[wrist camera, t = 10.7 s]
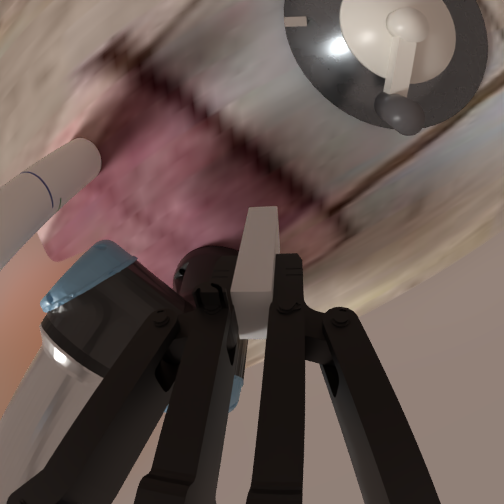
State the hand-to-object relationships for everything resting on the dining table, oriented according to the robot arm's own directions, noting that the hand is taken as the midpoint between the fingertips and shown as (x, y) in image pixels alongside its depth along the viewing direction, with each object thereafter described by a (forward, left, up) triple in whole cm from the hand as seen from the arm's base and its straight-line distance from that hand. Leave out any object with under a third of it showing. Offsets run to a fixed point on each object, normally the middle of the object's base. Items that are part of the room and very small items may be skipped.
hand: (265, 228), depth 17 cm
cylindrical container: (-1, +29, -25) cm, 38 cm away
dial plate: (+13, -15, -24) cm, 31 cm away
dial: (+11, -15, -22) cm, 29 cm away
